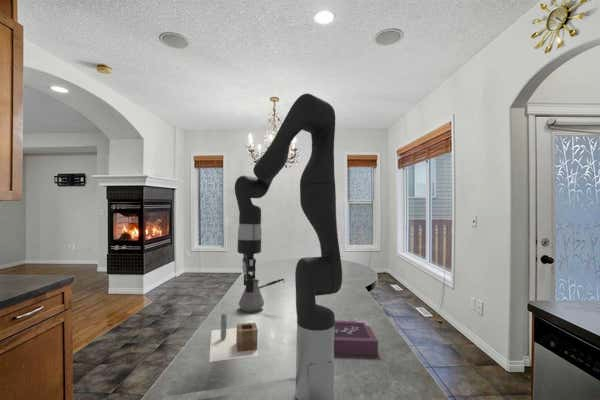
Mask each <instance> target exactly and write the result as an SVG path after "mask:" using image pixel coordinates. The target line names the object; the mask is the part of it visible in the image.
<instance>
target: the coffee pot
mask: <svg viewBox="0 0 600 400" xmlns="http://www.w3.org/2000/svg"><path fill="white" fill-rule="evenodd" d="M259 282H260V280H259V279H256V278H255V279H254V285H253V292H252V293H247V292H246V287H245V288H244V291H243V293H242V295H241V297H240V299H239V301H238V306H239V308H240V309H241V310H242V311H243V312H246V313H255V312H259V311H260V310H261V309H263V308H262V307H264V305H265V300H264V298H263V295H262V293H261V290H260V289H262V288H264V287H268V286H272V285H275V284H278V283H280V282H283V284H285V282H286V281H285V279H284V278H280V279H278V280H272V281H270V282H268V283H266V284H263V285H261V286H259Z"/></svg>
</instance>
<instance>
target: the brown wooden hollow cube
mask: <svg viewBox="0 0 600 400" xmlns="http://www.w3.org/2000/svg"><path fill="white" fill-rule="evenodd" d="M236 328H237V334H236V345H237V352H240V351H249V350H257V351H258V327H257V323H256V322H248V323H247V322H246V323H245V322H244V323H237V324H236Z"/></svg>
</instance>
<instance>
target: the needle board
mask: <svg viewBox="0 0 600 400" xmlns="http://www.w3.org/2000/svg"><path fill="white" fill-rule="evenodd" d="M220 317H221V318H220V329H213V330H211V331H210V332H211V333H210V334H211V335H210V346H209V347H210V348H209V349H210V350H209V359H208V360H209V361H208V362H209V363H212V362H221V361H229V360H236V359H246V358H253V357H254V358H255V357H259V355H260V354H259V352H258V349H257V350H249V351H240V352H237V345H236V334H237V327H232V328H227V323H228V315H227V313H225V312H223V313H221V315H220Z"/></svg>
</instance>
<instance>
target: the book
mask: <svg viewBox="0 0 600 400" xmlns="http://www.w3.org/2000/svg"><path fill="white" fill-rule="evenodd" d="M334 355H342V356H343V355H344V356H345V355H347V356H379V341H378V338H377V337H376V335H375V333H374V332H373V330H372V327H371V324H370V323H369V321H368V320H356V321H355V320H335V331H334Z"/></svg>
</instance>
